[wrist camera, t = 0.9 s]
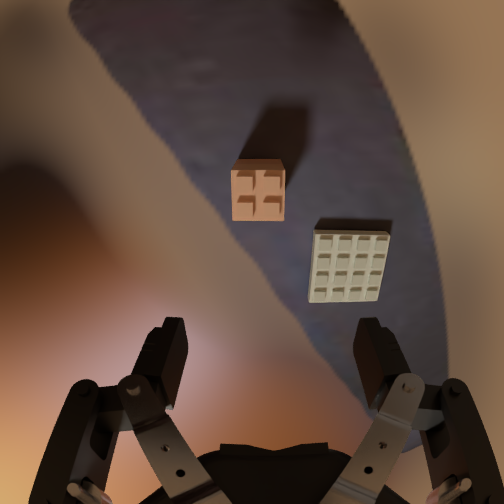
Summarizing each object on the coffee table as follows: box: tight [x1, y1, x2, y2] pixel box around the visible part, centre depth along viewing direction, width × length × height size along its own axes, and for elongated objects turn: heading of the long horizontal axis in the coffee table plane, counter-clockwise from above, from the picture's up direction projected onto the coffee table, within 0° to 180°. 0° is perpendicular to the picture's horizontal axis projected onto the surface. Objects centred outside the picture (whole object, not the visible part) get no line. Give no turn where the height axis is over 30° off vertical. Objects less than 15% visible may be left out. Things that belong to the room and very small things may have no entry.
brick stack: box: [231, 159, 285, 221], centre depth 25 cm, size 4×4×6 cm
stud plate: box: [308, 230, 390, 302], centre depth 31 cm, size 8×8×2 cm
